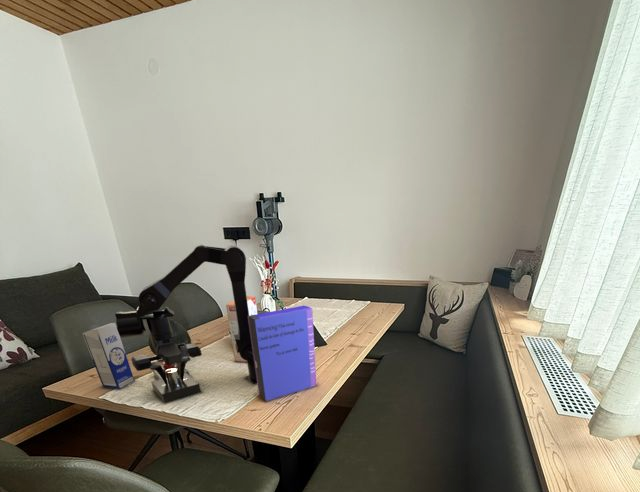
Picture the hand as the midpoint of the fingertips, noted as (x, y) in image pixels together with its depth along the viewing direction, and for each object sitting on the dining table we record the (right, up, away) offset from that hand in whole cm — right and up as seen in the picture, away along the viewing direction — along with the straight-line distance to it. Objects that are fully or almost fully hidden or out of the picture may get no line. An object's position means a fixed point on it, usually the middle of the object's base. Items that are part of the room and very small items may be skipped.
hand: (174, 382), depth 110 cm
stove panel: (0, -3, +1) cm, 3 cm away
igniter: (-6, +6, +10) cm, 13 cm away
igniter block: (-6, +3, +12) cm, 14 cm away
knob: (0, 0, 0) cm, 0 cm away
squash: (-13, +13, +30) cm, 36 cm away
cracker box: (+17, +13, +27) cm, 35 cm away
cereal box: (+35, -3, -1) cm, 36 cm away
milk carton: (-22, 0, +8) cm, 23 cm away
